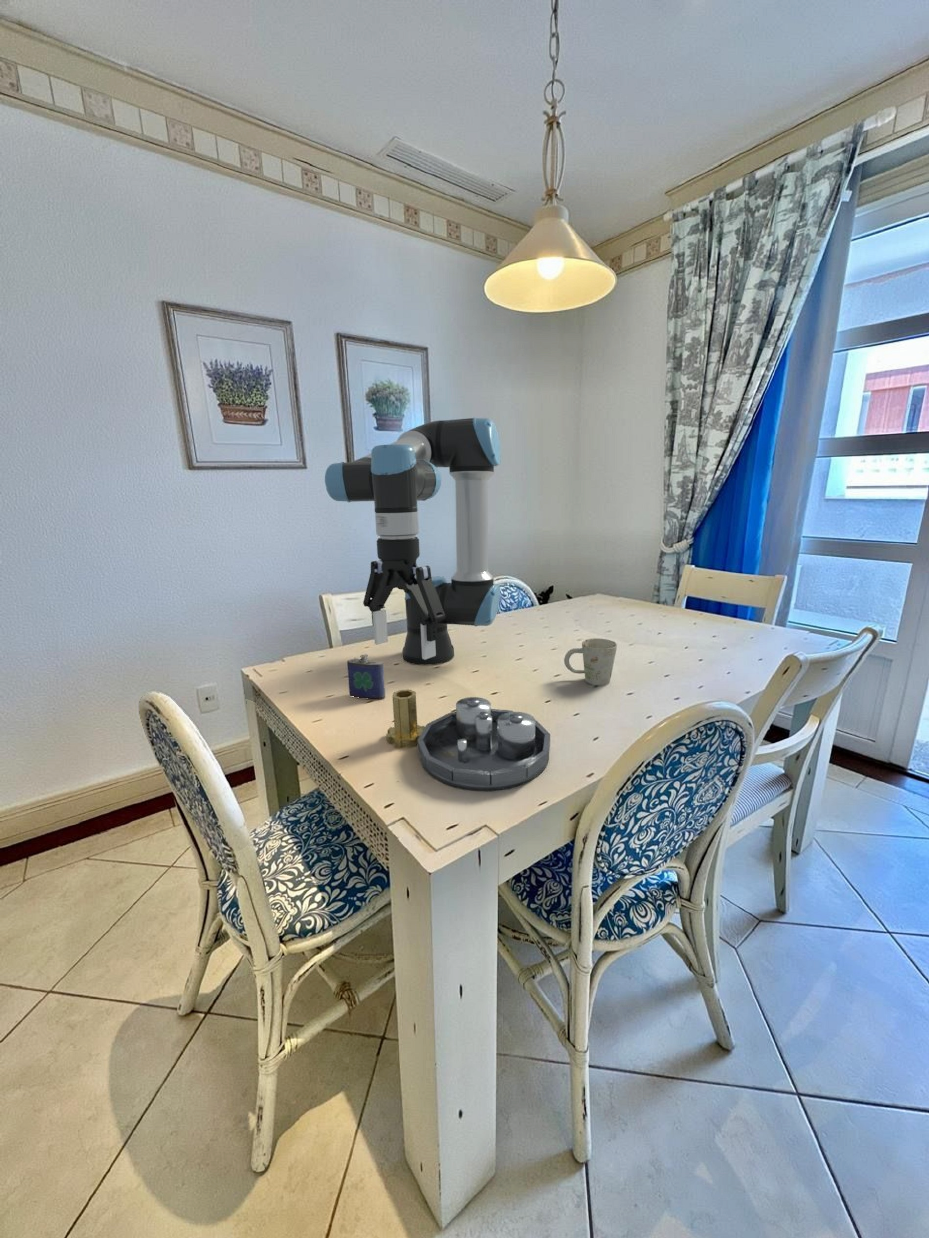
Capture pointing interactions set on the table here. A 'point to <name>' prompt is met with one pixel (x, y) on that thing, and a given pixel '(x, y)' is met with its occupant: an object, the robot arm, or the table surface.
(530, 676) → the table surface
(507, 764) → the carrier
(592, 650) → the mug
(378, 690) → the flask
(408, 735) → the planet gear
